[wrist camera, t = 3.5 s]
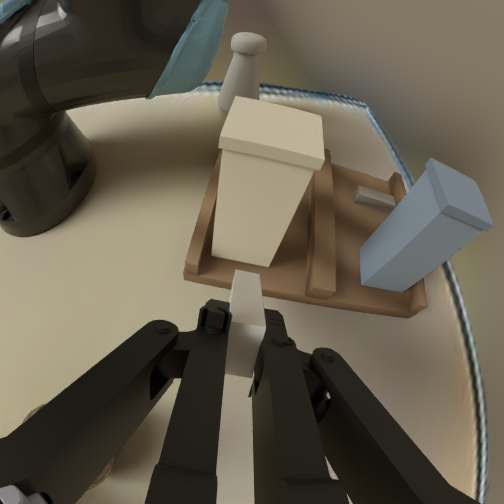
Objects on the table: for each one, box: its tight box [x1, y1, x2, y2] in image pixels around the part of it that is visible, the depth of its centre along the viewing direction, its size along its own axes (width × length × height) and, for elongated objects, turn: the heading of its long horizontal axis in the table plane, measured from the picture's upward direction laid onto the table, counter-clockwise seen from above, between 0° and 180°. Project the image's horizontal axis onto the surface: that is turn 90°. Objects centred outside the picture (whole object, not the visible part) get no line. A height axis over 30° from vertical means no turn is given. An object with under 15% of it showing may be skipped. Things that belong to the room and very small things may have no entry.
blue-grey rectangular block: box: [359, 158, 494, 293], centre depth 21 cm, size 4×5×13 cm
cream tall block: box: [211, 96, 325, 267], centre depth 20 cm, size 4×5×13 cm
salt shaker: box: [218, 32, 267, 119], centre depth 32 cm, size 6×6×13 cm
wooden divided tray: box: [183, 148, 427, 318], centre depth 29 cm, size 18×23×4 cm
